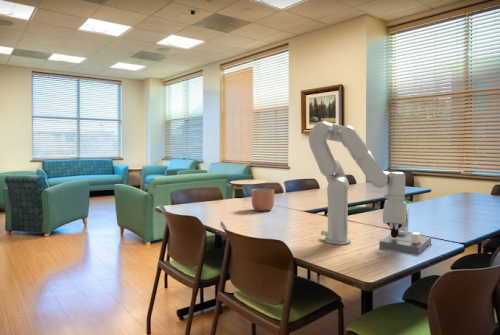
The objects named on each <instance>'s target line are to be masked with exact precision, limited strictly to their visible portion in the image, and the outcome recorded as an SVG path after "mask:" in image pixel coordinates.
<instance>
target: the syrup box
mask: <svg viewBox="0 0 500 335" xmlns="http://www.w3.org/2000/svg"><path fill="white" fill-rule="evenodd" d="M409 210H410V208H408V207H407V226H404V227H400V228H399V230H398V231H405V234H409V218H410V216H409V215H410V214H409V212H410V211H409ZM395 226H396V223H394V227H395Z"/></svg>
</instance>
